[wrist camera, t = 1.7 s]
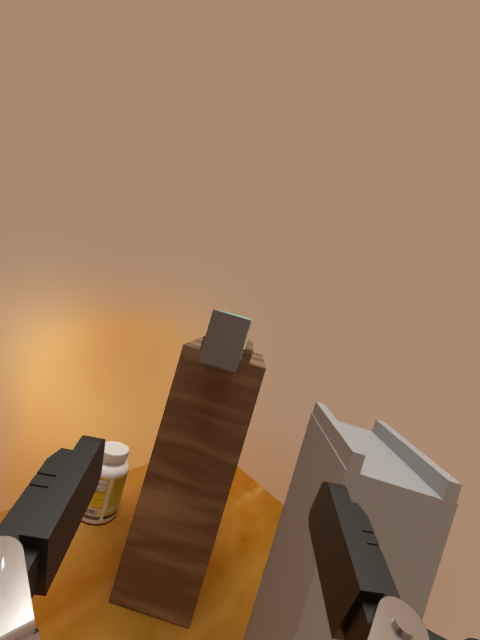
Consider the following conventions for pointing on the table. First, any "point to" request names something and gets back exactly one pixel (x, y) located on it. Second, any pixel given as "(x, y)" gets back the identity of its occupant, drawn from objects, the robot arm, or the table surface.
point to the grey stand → (379, 505)
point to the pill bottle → (109, 484)
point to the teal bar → (225, 340)
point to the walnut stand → (187, 485)
